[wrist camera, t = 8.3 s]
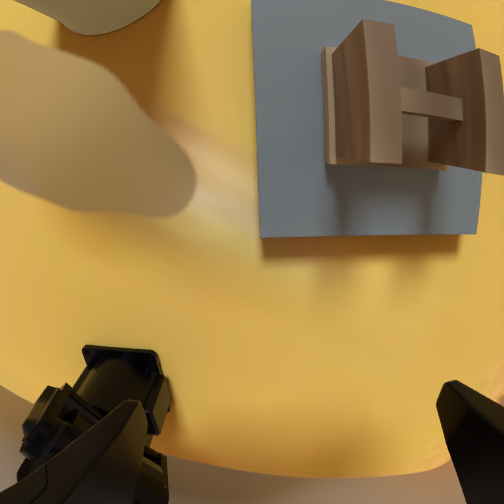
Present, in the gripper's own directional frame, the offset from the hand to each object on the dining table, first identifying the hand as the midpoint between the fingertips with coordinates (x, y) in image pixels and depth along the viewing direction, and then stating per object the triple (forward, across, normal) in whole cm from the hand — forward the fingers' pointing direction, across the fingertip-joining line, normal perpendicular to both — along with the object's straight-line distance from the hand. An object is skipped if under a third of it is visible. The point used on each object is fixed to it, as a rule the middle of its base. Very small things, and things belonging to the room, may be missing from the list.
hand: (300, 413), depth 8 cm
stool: (+10, -6, -9) cm, 15 cm away
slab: (+12, -6, -9) cm, 16 cm away
